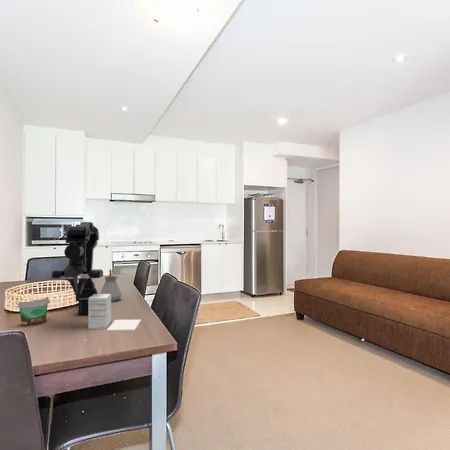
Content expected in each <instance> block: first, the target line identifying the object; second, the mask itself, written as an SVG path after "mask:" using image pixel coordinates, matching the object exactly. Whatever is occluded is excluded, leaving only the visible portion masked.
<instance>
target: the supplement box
mask: <svg viewBox="0 0 450 450" xmlns="http://www.w3.org/2000/svg"><path fill="white" fill-rule="evenodd" d="M87 316H88V318H87V319H88V330H103V329H106V330H107V329H108V327H109V326H110V325H111V324H112V302H111V294H100V293H97V294H93V295H92V296H91V297H89V308H88V315H87Z"/></svg>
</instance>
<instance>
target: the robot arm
mask: <svg viewBox="0 0 450 450" xmlns="http://www.w3.org/2000/svg"><path fill="white" fill-rule="evenodd" d="M99 239H100V232H99V229H98V228H97V227H96V226H95V225H94V223H93V222H91V221H83V222H80V224H78V225H77V226H76V225H70V226H69V228H68V229H67V232H66V237H65V244H69V245H67V246H66V247H65V249H64V252H63V253H64V256H65V257H66V259H69V261H68V265H66V267H65V268H64V269H62V268H61V269H60V268H59V269H55V270H53V271H52V272H51V279H60V278H61V277H64V280H65V281H67V282H68V283H69V284H70V285H71V288H72V290H73V293H74V295H75V302H78V313H77V314H76V315H77V316H88V308H89V297H91V296H92V295H93V294H98V290H97V288H96V285H95V283H94V280H93V279H101V278H102V277H104V271H103V269H94V268H93V264H94V260H93V259H94V251H95V248H96V247H97V246H98V243H99V242H98V241H100V240H99ZM78 277H80V278H78Z"/></svg>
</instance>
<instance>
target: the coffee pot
mask: <svg viewBox="0 0 450 450" xmlns="http://www.w3.org/2000/svg"><path fill="white" fill-rule="evenodd" d="M113 271H114V270H112V269H111V268H110V269H109V274H108V276H104V279H105V281H104V283H103V284H104V285H103V286H102V289H101V290H100V293H99V294H111V303H113V302H116V301H118V300H119V299H120V298H121V297H122V295H123V294H122V292H121V290H120V287H119V286H118V283H117V281H116V280H117V278H118V276H116V275H115V276H114V275H112V273H113Z"/></svg>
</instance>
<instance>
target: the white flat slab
mask: <svg viewBox="0 0 450 450" xmlns="http://www.w3.org/2000/svg"><path fill="white" fill-rule="evenodd" d="M141 322H142V319H115V320H113V322H111V324H110V325H109V326H108V327H107V328H106V332H135V331H136V330H137V328H138V326H139V325H140V323H141Z"/></svg>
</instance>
